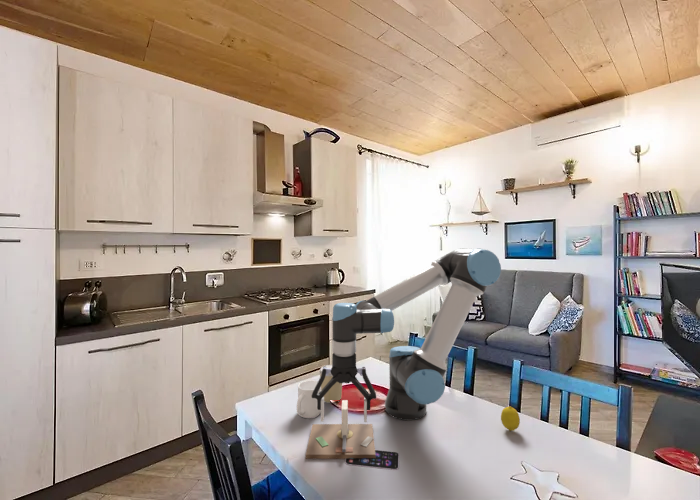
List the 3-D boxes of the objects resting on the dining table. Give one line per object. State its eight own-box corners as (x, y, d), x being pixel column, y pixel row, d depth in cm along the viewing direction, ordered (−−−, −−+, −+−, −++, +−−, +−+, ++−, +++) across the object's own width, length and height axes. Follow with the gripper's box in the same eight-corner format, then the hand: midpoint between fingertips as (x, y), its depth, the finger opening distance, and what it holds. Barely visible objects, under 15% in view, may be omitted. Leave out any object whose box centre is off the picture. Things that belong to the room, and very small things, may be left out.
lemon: (519, 428, 109) (519, 404, 109) (520, 437, 104) (520, 412, 104) (500, 424, 112) (500, 401, 111) (500, 433, 107) (500, 408, 106)
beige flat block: (348, 427, 107) (348, 400, 107) (348, 452, 94) (348, 421, 94) (341, 427, 107) (341, 400, 107) (339, 452, 94) (339, 421, 94)
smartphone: (349, 447, 99) (399, 452, 97) (349, 449, 100) (399, 454, 97) (344, 463, 92) (398, 469, 90) (344, 465, 92) (398, 471, 90)
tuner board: (372, 427, 110) (372, 423, 110) (375, 458, 94) (375, 453, 94) (312, 427, 111) (312, 423, 111) (305, 458, 95) (305, 453, 95)
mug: (307, 426, 111) (307, 396, 111) (287, 421, 115) (287, 391, 115) (325, 410, 122) (325, 382, 122) (306, 405, 126) (306, 378, 126)
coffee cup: (329, 391, 138) (329, 362, 138) (347, 397, 133) (347, 367, 132) (314, 399, 130) (314, 369, 130) (333, 406, 125) (333, 375, 125)
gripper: (382, 349, 108) (382, 413, 108) (306, 348, 108) (306, 413, 108) (384, 357, 100) (384, 426, 100) (302, 356, 100) (302, 425, 101)
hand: (343, 419), depth 104 cm, fingers open, 13 cm apart
